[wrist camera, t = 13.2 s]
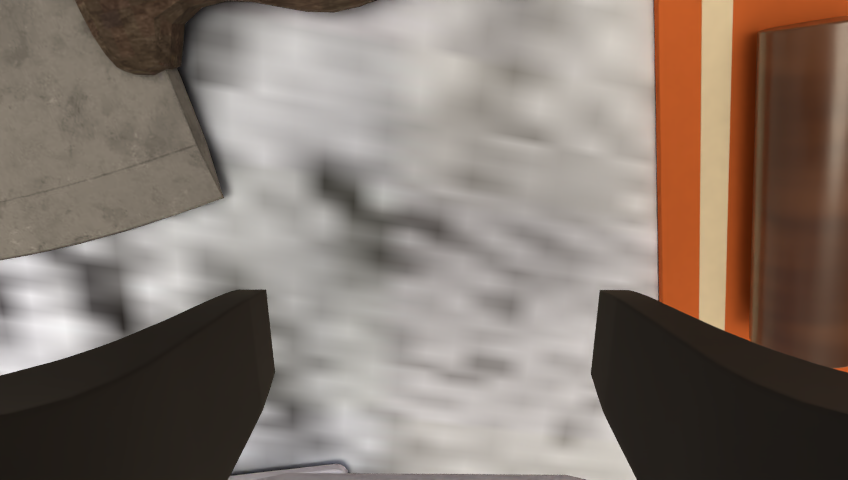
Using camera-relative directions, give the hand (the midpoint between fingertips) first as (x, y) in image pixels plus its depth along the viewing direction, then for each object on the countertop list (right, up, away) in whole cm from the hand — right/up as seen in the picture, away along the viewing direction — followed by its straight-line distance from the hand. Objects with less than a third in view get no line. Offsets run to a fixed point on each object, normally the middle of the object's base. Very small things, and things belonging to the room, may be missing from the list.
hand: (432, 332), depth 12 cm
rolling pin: (+13, +3, +6) cm, 15 cm away
